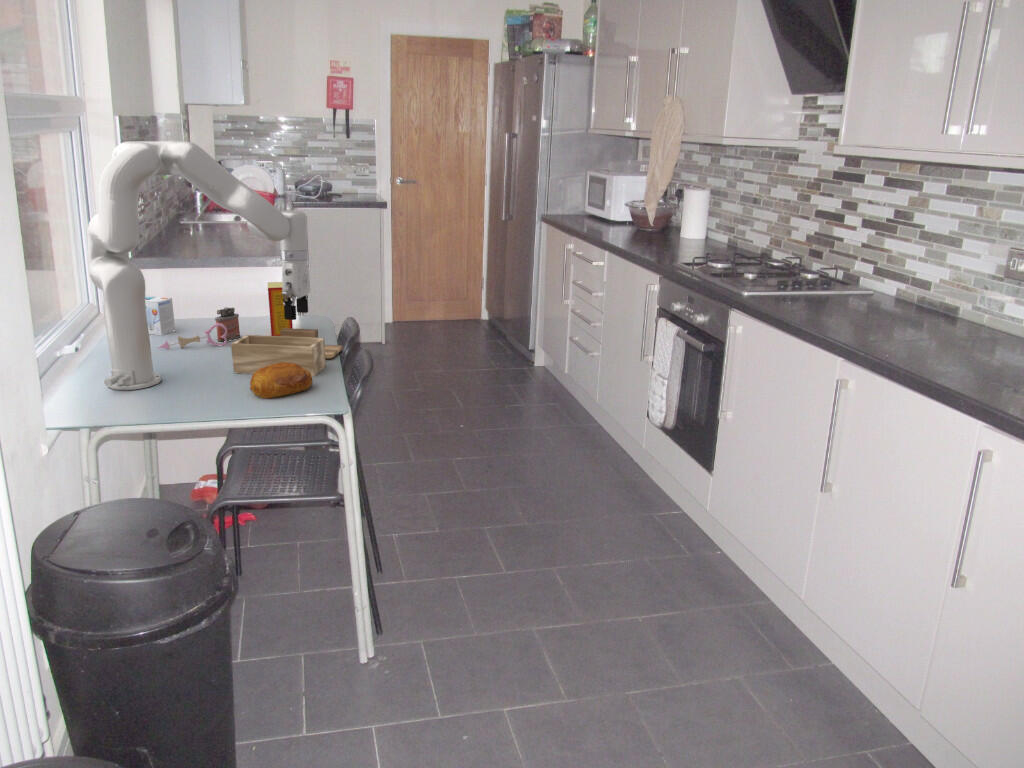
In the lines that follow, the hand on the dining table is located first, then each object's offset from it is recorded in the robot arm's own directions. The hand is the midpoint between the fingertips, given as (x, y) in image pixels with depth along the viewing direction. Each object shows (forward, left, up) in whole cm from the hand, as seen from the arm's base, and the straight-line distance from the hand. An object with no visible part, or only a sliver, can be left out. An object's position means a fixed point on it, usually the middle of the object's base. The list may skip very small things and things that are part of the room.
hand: (296, 315), depth 233 cm
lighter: (+12, +27, -12) cm, 32 cm away
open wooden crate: (-16, 0, -11) cm, 19 cm away
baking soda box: (+22, +14, -12) cm, 29 cm away
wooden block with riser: (0, 0, -11) cm, 11 cm away
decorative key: (+3, +33, -12) cm, 35 cm away
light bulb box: (+18, +54, -12) cm, 58 cm away
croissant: (-32, -7, -12) cm, 35 cm away
